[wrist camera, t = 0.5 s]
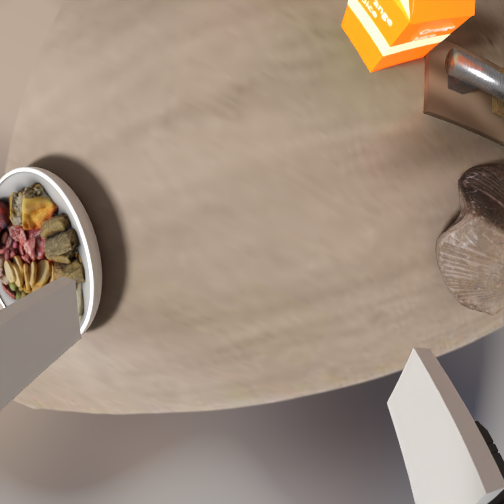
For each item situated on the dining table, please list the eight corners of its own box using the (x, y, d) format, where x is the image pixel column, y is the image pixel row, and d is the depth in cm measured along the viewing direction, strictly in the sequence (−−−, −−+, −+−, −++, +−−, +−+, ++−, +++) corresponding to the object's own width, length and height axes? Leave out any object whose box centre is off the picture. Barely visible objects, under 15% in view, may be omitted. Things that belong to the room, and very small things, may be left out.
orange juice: (340, 25, 29) (369, -75, 10) (393, 12, 27) (447, -72, 8) (370, 74, 30) (434, -6, 11) (423, 58, 28) (504, -7, 9)
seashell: (563, 195, 22) (577, 251, 14) (515, 281, 33) (500, 349, 26) (474, 140, 30) (455, 170, 23) (441, 233, 42) (408, 287, 34)
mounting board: (424, 36, 27) (428, 32, 26) (546, 103, 25) (551, 102, 23) (423, 113, 30) (428, 111, 29) (546, 169, 28) (552, 170, 26)
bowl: (130, 193, 38) (97, 198, 30) (103, 360, 46) (80, 384, 39) (9, 151, 39) (-22, 152, 32) (0, 291, 47) (-24, 304, 40)
